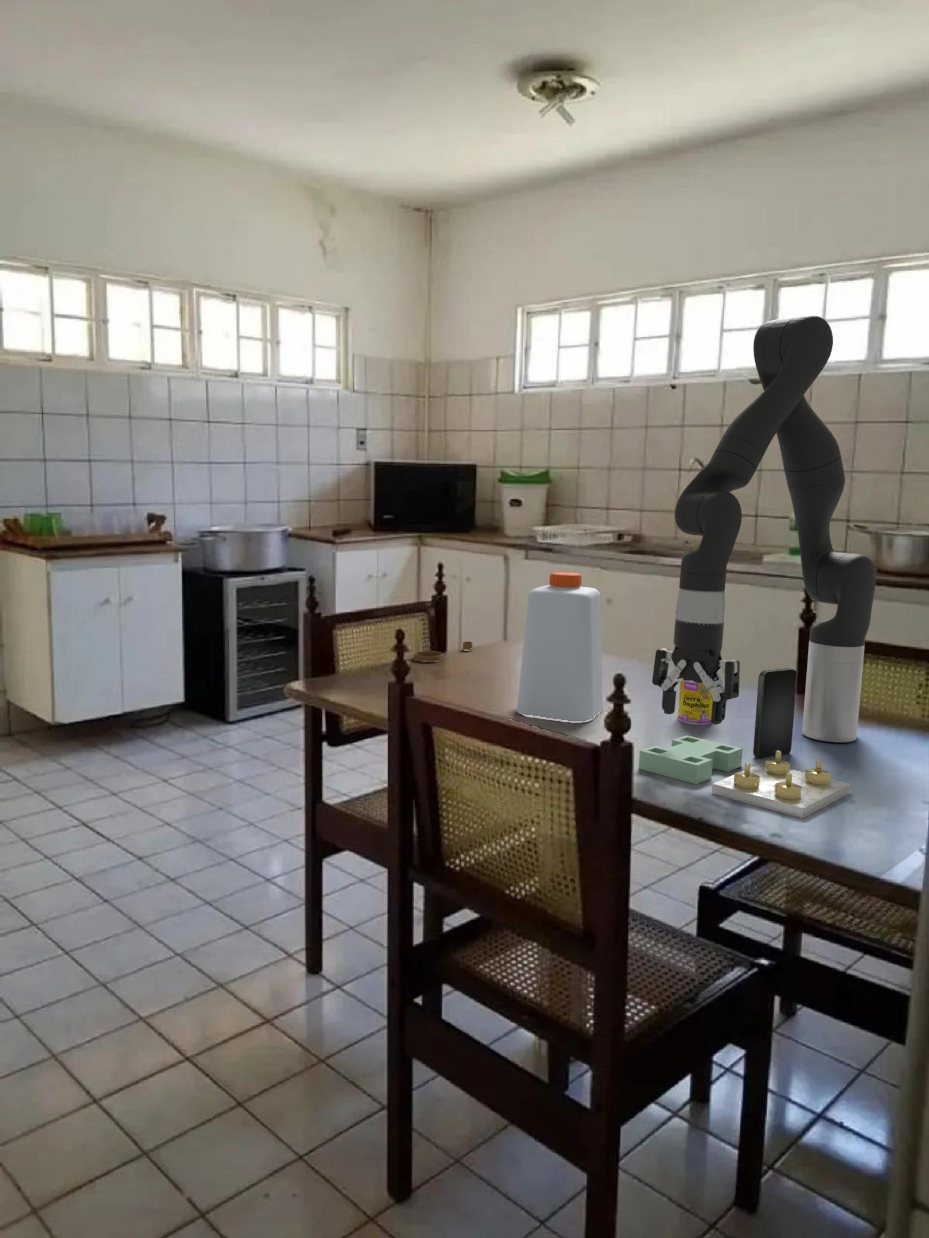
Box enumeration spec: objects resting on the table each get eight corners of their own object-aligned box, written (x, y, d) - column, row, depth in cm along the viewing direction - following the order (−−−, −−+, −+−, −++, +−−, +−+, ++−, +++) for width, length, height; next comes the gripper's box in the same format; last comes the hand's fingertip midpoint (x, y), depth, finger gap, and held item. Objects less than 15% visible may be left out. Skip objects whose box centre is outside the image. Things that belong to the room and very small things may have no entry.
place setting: (393, 667, 230) (393, 643, 229) (469, 663, 237) (470, 640, 236) (414, 682, 213) (415, 656, 213) (495, 677, 220) (496, 653, 220)
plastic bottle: (607, 712, 187) (613, 572, 183) (587, 730, 173) (594, 579, 169) (534, 703, 192) (539, 568, 188) (510, 720, 178) (515, 574, 174)
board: (638, 768, 150) (639, 750, 149) (685, 752, 160) (686, 735, 159) (696, 784, 143) (697, 765, 142) (741, 766, 153) (742, 748, 152)
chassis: (711, 793, 139) (713, 762, 138) (762, 771, 150) (765, 742, 149) (802, 818, 129) (805, 784, 128) (850, 793, 140) (852, 762, 140)
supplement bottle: (675, 726, 177) (679, 660, 175) (679, 718, 183) (683, 654, 181) (711, 730, 174) (716, 663, 173) (715, 722, 181) (719, 657, 179)
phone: (785, 753, 161) (792, 667, 159) (790, 755, 160) (797, 668, 158) (752, 758, 157) (758, 671, 155) (757, 760, 156) (763, 672, 154)
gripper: (752, 622, 145) (744, 724, 148) (673, 611, 155) (666, 707, 157) (728, 625, 140) (720, 731, 142) (648, 614, 150) (641, 713, 152)
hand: (692, 718), depth 150 cm, fingers open, 8 cm apart
